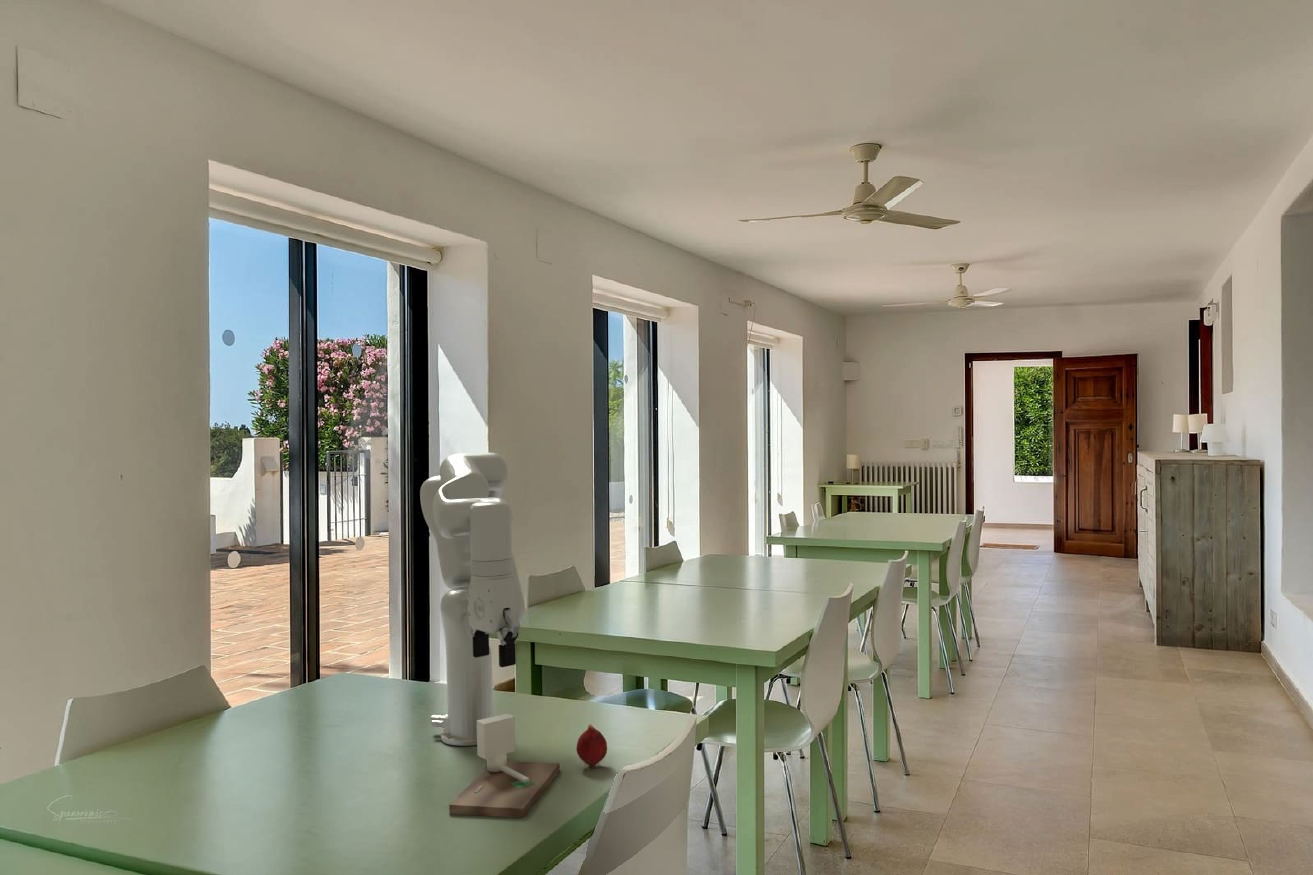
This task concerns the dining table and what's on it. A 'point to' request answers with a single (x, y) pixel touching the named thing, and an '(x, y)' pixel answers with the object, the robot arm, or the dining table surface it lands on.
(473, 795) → the board
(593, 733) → the onion
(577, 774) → the dining table surface
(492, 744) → the tuning peg
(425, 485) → the robot arm
